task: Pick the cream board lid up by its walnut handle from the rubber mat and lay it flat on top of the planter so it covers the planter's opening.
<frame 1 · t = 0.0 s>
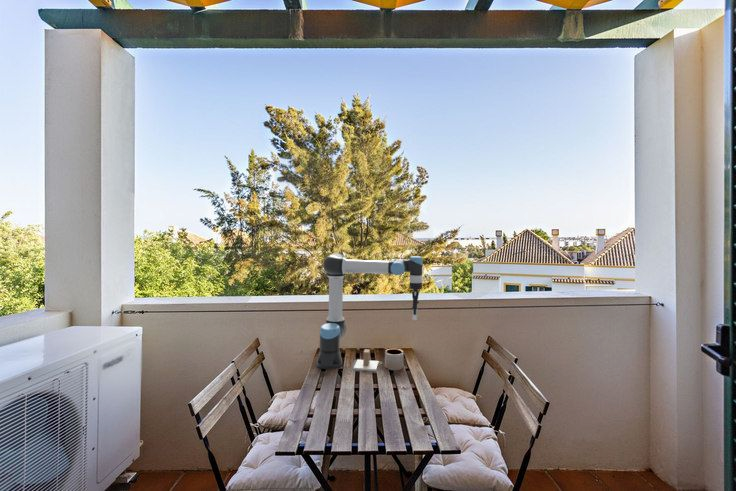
hand: (414, 317, 224), 28 cm above the table, tool pointing down, fingers open, 13 cm apart
lid: (366, 365, 217), resting on mat
planter: (393, 367, 217), on the table
mat: (366, 366, 217), on the table
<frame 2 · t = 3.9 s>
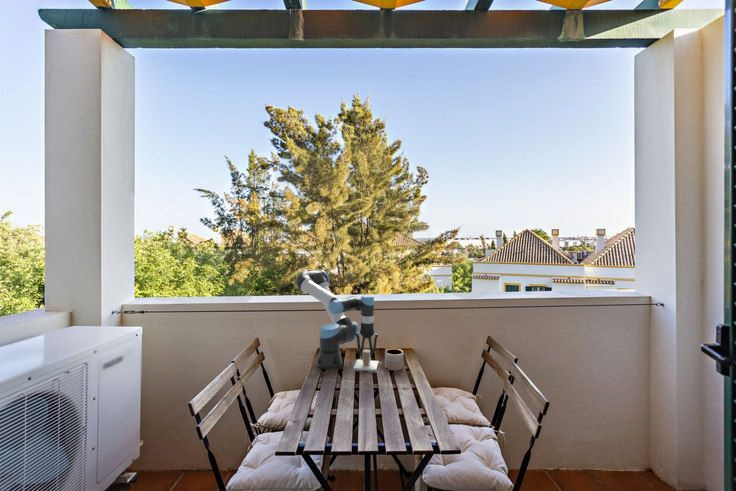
hand: (366, 361, 217), 3 cm above the table, tool pointing down, fingers closed on lid, 3 cm apart
lid: (366, 365, 217), resting on mat, touching gripper
everything else where it was.
when the fingers open (15 cm above the table, at t = 7.6 s): lid drops 3 cm, resting on planter.
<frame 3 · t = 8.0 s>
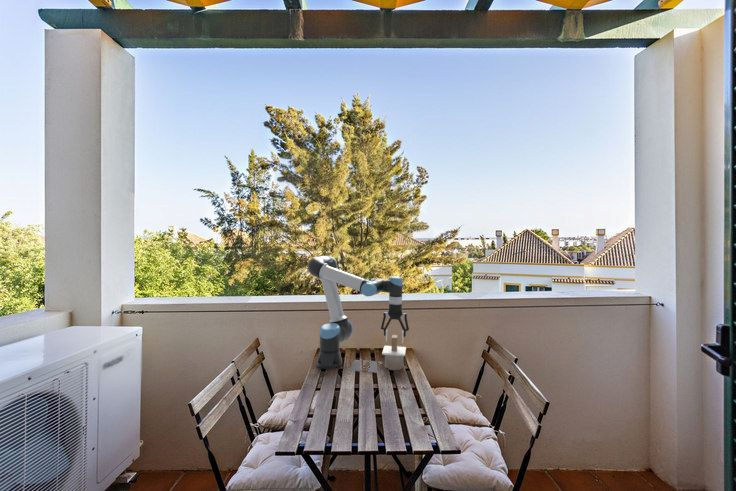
hand: (394, 341, 216), 15 cm above the table, tool pointing down, fingers open, 9 cm apart
lid: (394, 351, 217), point 10 cm above the table, touching planter
planter: (394, 367, 217), on the table, touching lid
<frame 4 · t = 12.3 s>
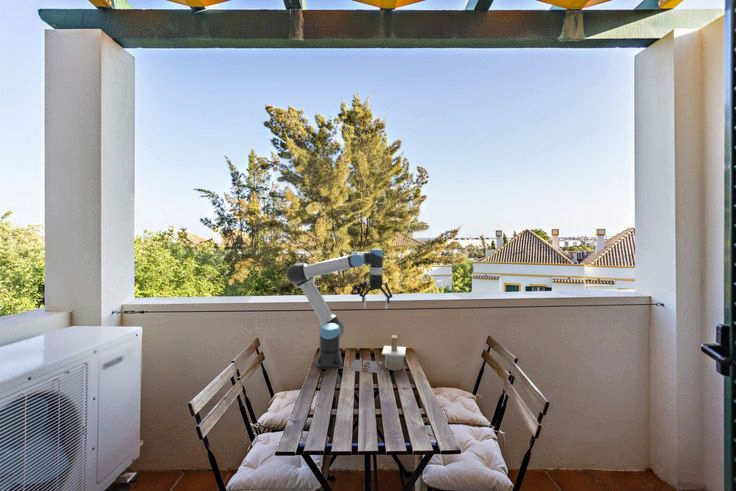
hand: (375, 308, 229), 32 cm above the table, tool pointing down, fingers open, 13 cm apart
nothing on the table moved.
at the end: lid 0.1 cm off-centre on the planter, point 9.8 cm above the planter's base; lid tilted 0°; the gripper is holding nothing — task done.
